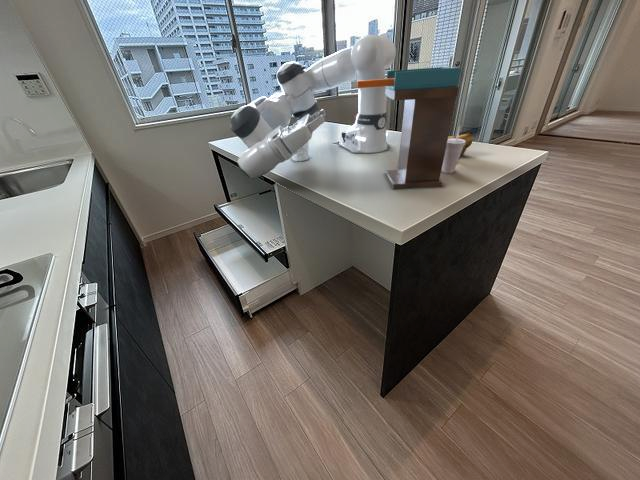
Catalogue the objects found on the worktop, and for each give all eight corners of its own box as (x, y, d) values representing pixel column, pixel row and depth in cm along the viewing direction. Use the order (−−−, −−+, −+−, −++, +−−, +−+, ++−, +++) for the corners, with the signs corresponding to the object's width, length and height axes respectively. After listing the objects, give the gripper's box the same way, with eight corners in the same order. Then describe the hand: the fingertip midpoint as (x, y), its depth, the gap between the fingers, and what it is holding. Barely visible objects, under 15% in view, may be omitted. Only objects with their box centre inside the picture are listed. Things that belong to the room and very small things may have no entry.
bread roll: (443, 161, 94) (447, 138, 89) (425, 155, 102) (429, 133, 97) (471, 156, 97) (477, 133, 93) (452, 149, 105) (457, 128, 100)
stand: (386, 190, 77) (395, 91, 63) (379, 174, 88) (385, 87, 73) (441, 187, 76) (463, 86, 62) (427, 172, 87) (443, 82, 72)
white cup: (305, 162, 103) (303, 135, 98) (287, 161, 106) (284, 135, 100) (312, 156, 110) (310, 131, 104) (295, 155, 112) (292, 131, 106)
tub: (394, 90, 64) (395, 72, 61) (385, 87, 73) (387, 71, 70) (457, 86, 63) (461, 67, 60) (441, 83, 72) (443, 66, 70)
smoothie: (460, 174, 83) (472, 127, 75) (439, 174, 84) (448, 128, 77) (456, 167, 88) (466, 123, 80) (435, 167, 90) (444, 123, 82)
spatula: (358, 88, 66) (358, 81, 65) (356, 86, 71) (356, 80, 70) (439, 83, 64) (440, 75, 64) (431, 81, 69) (432, 74, 69)
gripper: (294, 142, 87) (330, 118, 82) (286, 162, 70) (330, 132, 65) (283, 125, 84) (319, 98, 79) (271, 141, 67) (316, 109, 62)
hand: (324, 114), depth 72 cm, fingers open, 8 cm apart
